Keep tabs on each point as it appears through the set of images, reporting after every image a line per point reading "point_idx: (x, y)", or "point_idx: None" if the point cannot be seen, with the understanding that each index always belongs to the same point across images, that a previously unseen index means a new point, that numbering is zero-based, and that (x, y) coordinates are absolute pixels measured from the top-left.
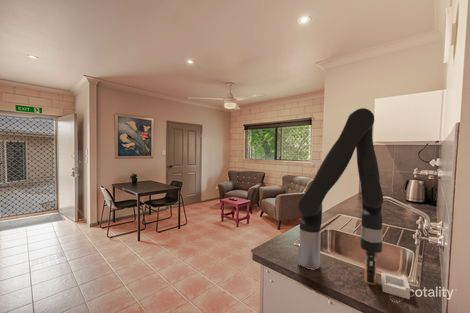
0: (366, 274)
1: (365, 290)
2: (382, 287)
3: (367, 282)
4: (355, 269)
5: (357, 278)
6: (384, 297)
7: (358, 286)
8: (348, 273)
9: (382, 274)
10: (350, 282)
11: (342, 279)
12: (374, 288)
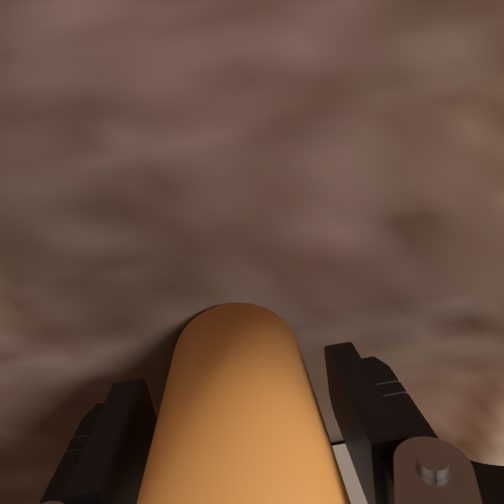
0: (161, 410)
1: (7, 350)
2: None
3: (174, 351)
4: (468, 144)
5: (219, 221)
6: None
7: (24, 272)
8: (273, 79)
9: None
10: (31, 165)
11: (10, 39)
12: None
